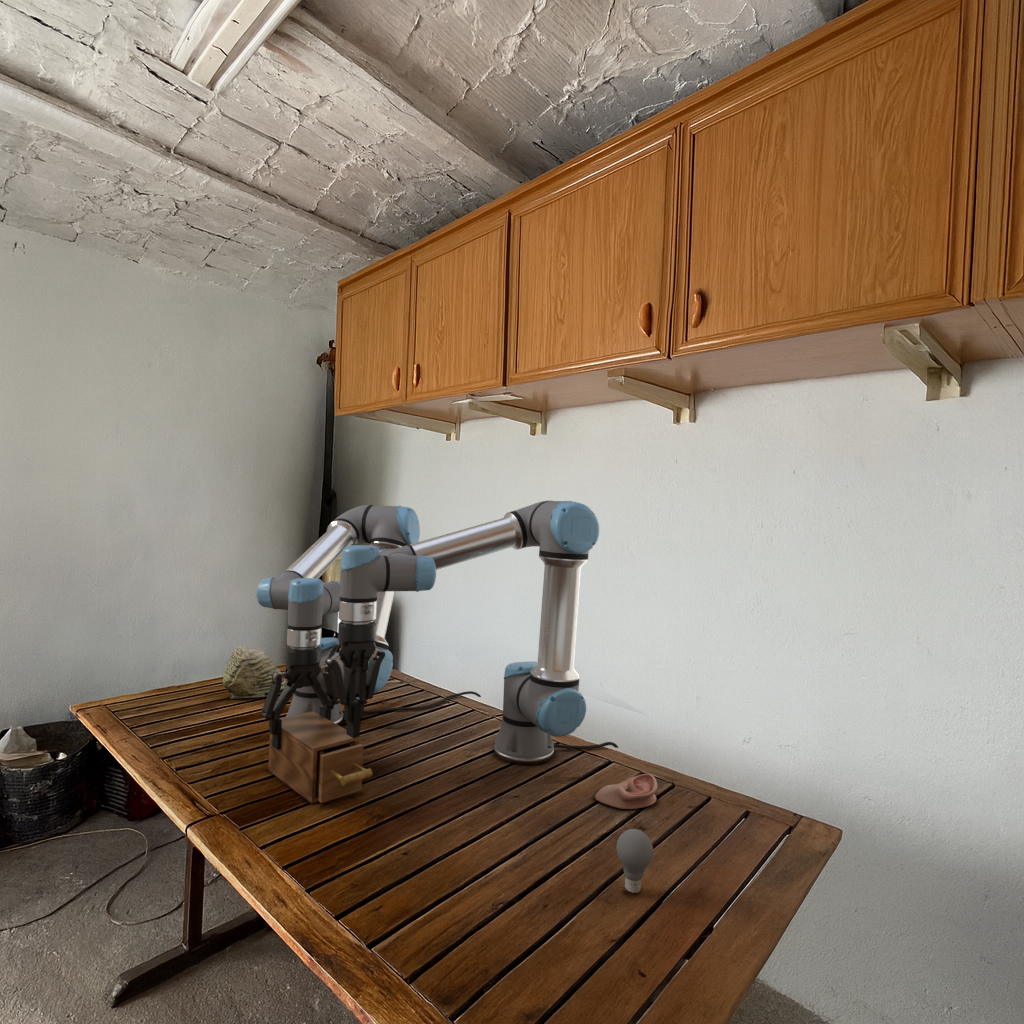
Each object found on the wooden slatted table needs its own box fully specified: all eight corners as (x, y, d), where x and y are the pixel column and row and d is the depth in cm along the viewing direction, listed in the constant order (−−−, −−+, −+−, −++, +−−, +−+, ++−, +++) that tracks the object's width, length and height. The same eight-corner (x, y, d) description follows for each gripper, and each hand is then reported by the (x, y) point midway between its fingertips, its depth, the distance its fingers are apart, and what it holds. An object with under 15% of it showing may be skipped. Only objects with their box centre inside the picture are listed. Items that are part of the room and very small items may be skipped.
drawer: (377, 800, 131) (379, 754, 131) (336, 815, 125) (338, 766, 124) (317, 760, 149) (318, 720, 149) (278, 771, 143) (280, 729, 143)
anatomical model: (594, 786, 135) (598, 765, 146) (593, 805, 135) (597, 782, 146) (658, 795, 132) (657, 772, 143) (657, 814, 132) (656, 790, 143)
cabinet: (356, 788, 138) (358, 736, 138) (311, 803, 131) (313, 748, 130) (311, 758, 153) (313, 711, 153) (268, 770, 145) (270, 720, 145)
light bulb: (610, 879, 108) (613, 822, 108) (644, 879, 109) (647, 822, 109) (619, 902, 102) (622, 840, 102) (655, 901, 103) (658, 840, 103)
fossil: (218, 695, 195) (220, 647, 195) (278, 685, 208) (279, 640, 207) (228, 703, 189) (230, 653, 188) (289, 692, 201) (290, 645, 201)
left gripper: (261, 656, 135) (257, 759, 135) (357, 642, 151) (353, 734, 151) (246, 649, 140) (243, 748, 140) (340, 637, 156) (337, 725, 157)
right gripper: (338, 627, 122) (333, 748, 123) (394, 620, 131) (390, 733, 132) (319, 621, 128) (314, 737, 128) (374, 615, 137) (370, 723, 137)
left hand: (300, 741), depth 146 cm, fingers closed on cabinet, 11 cm apart
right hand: (353, 735), depth 130 cm, fingers closed
